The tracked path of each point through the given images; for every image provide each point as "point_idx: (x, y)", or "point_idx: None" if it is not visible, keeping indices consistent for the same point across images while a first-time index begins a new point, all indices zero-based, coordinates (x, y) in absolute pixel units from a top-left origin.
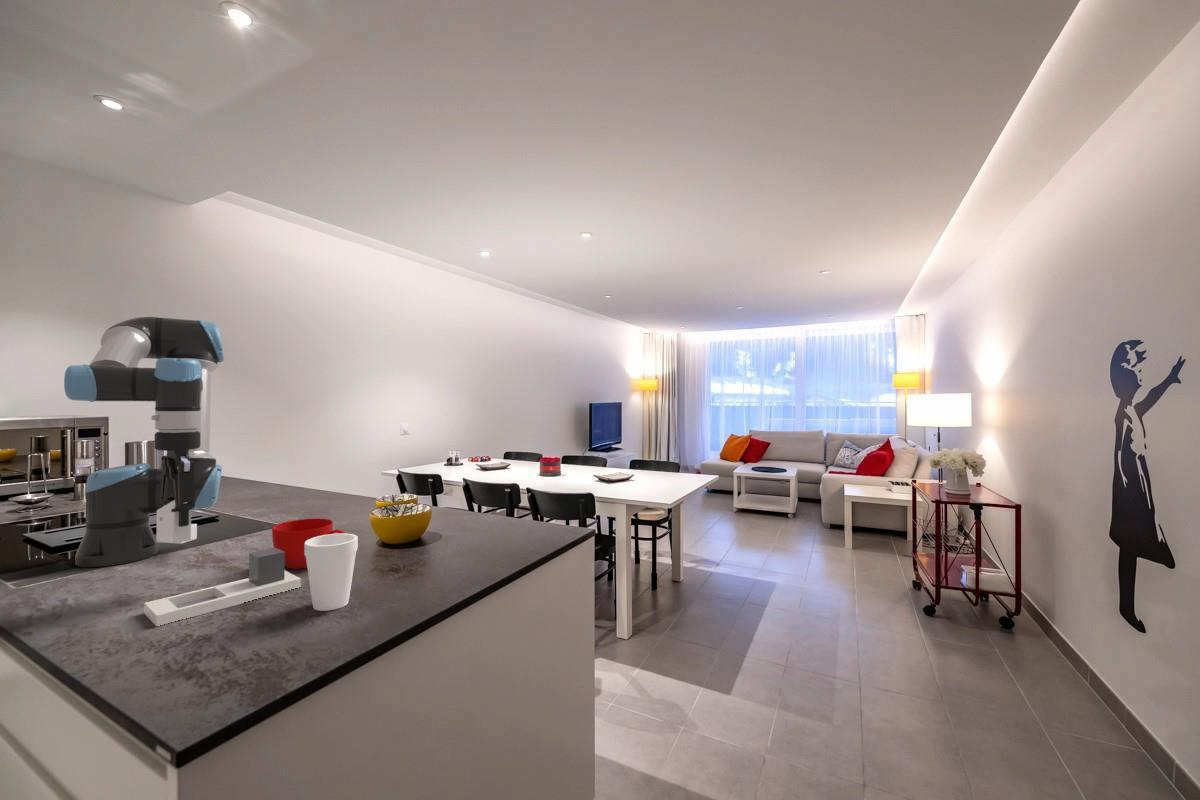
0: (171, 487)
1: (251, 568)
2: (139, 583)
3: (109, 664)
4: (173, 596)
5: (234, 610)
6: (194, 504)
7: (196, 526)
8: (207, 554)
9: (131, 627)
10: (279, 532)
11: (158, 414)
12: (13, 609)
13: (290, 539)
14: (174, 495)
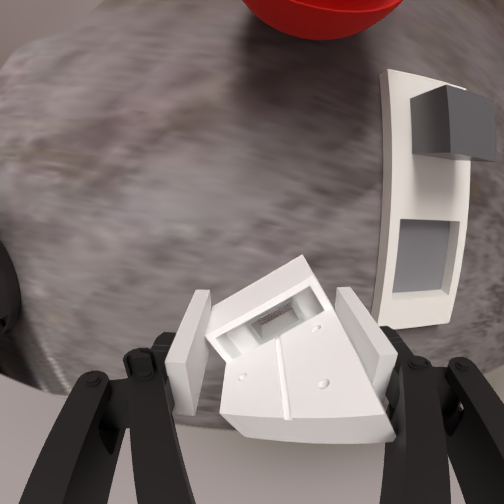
0: (189, 486)
1: (443, 155)
2: (158, 295)
3: (483, 356)
4: (385, 290)
5: (472, 216)
6: (476, 366)
7: (312, 273)
8: (37, 148)
9: (412, 339)
10: (364, 15)
11: None
12: (177, 422)
13: (387, 14)
14: (385, 466)
